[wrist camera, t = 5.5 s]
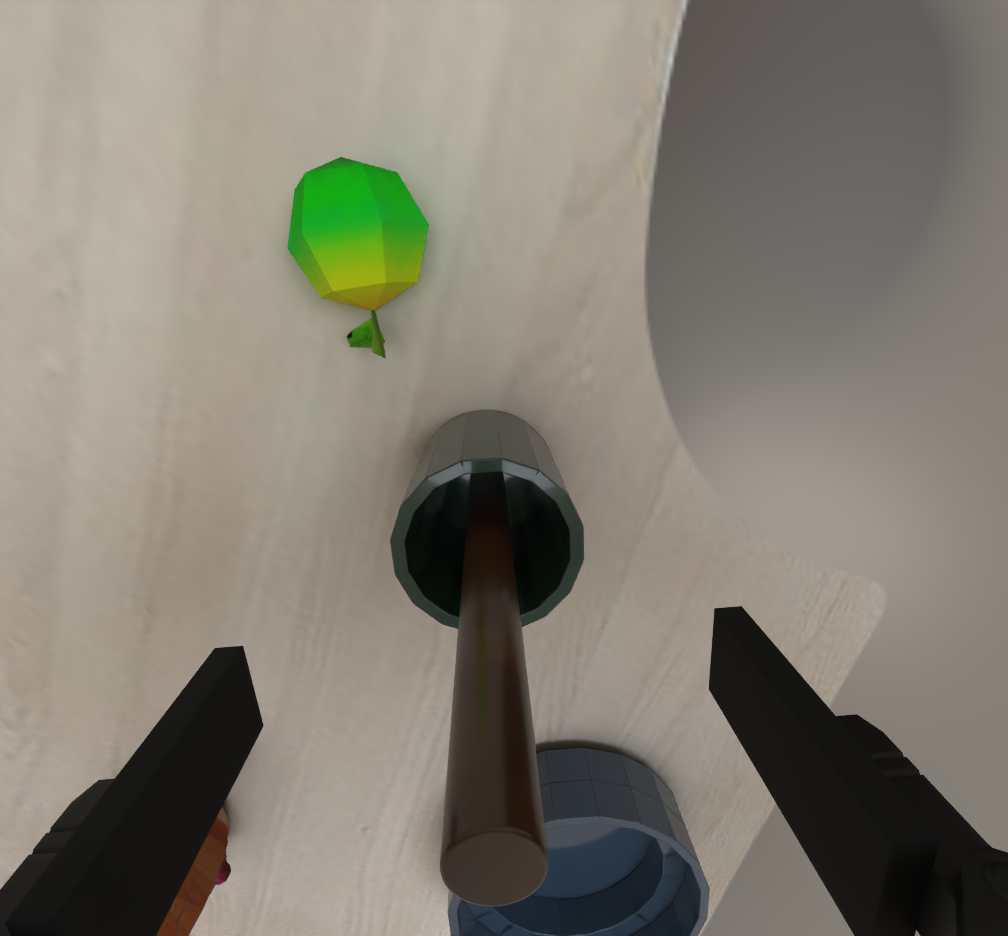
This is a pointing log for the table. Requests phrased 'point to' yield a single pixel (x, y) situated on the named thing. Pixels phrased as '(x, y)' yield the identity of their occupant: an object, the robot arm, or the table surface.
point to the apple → (357, 238)
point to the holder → (444, 504)
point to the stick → (491, 724)
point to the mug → (199, 881)
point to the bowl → (602, 858)
